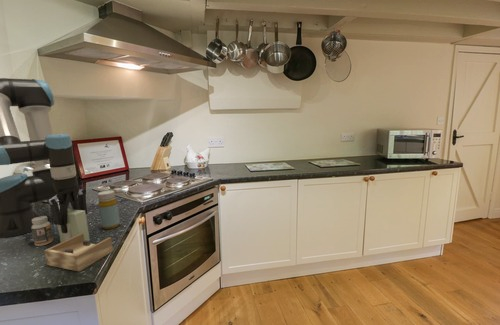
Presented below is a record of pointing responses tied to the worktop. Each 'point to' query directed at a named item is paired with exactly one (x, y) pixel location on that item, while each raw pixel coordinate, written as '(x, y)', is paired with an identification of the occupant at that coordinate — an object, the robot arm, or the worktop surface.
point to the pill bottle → (41, 231)
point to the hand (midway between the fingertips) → (74, 237)
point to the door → (76, 224)
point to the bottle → (108, 209)
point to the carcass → (77, 253)
